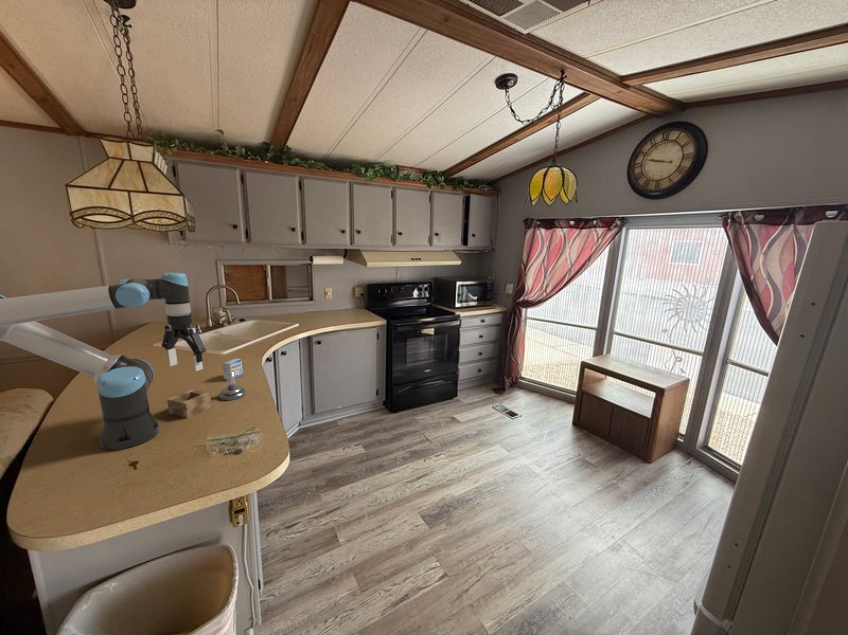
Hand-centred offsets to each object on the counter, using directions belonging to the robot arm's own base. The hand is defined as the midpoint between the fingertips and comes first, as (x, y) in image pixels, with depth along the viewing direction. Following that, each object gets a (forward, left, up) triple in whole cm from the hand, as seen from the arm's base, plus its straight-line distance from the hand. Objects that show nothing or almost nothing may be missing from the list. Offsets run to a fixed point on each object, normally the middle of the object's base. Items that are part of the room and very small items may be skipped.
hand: (185, 367), depth 129 cm
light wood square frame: (0, 0, -18) cm, 18 cm away
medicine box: (+32, +13, -18) cm, 39 cm away
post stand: (+16, -4, -18) cm, 24 cm away
